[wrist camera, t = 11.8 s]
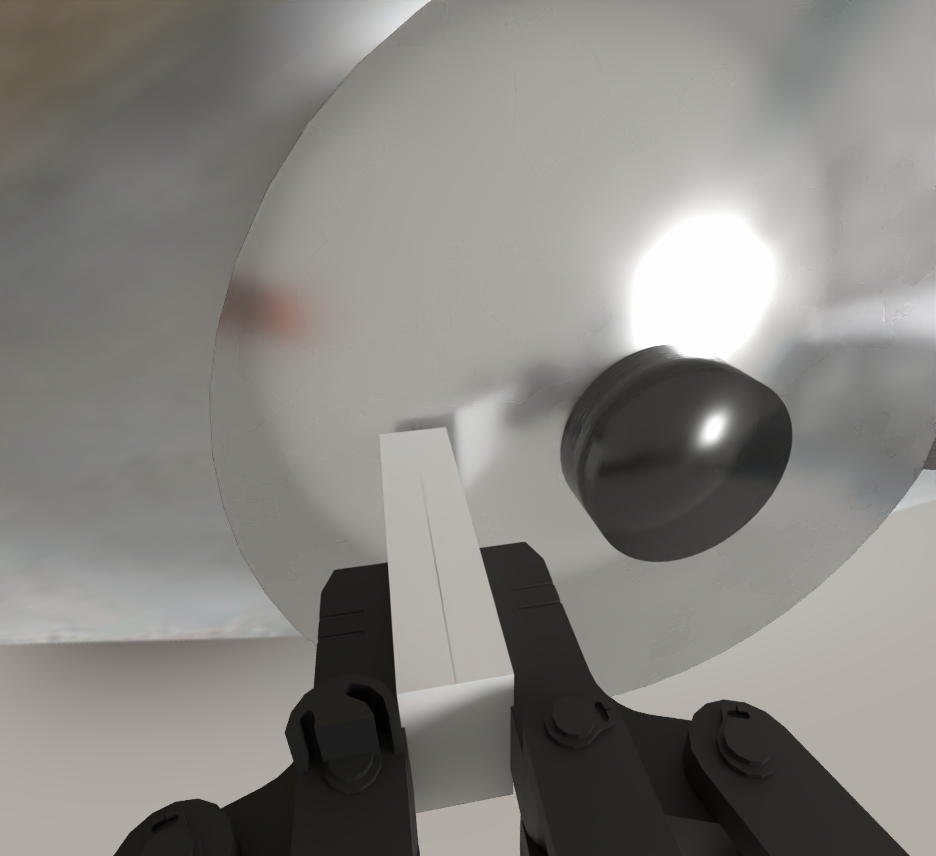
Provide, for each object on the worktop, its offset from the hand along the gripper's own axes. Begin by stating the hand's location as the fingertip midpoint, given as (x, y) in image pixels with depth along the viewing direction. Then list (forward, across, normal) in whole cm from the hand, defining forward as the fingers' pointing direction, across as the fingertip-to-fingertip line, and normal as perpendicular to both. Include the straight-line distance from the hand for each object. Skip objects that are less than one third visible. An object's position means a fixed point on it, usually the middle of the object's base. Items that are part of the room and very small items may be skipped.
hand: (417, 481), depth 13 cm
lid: (+2, -6, 0) cm, 7 cm away
